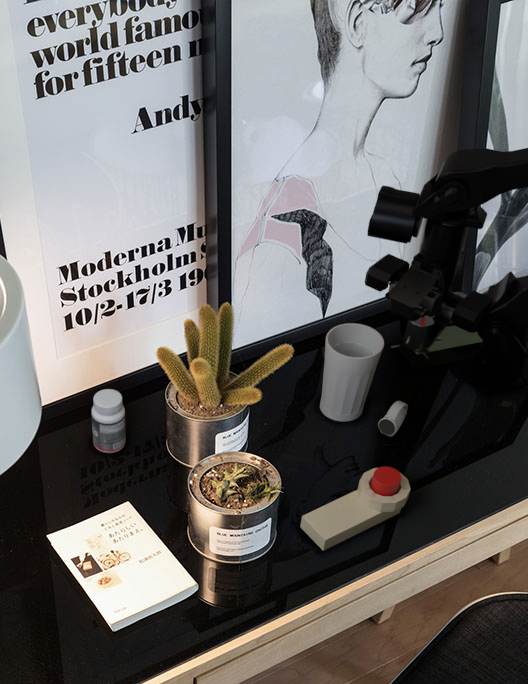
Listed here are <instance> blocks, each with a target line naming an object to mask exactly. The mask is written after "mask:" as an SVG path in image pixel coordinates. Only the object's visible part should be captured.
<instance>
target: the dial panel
mask: <svg viewBox="0 0 528 684" xmlns="http://www.w3.org/2000/svg"><path fill="white" fill-rule="evenodd" d="M403 339H404V336H402V338H401V343H400V344H396V345H391V346H390V348H391V349H396V348H397V349H398V348H399V349H398V350H399V351H398V352H399V353H400V354H401V355H402V356H403V358H404V359H405V361H406V362H407V363H408V365H409V366H410V368H411V370H412V371H414V370H415V371H416V370H420V369H425V368H431V367H435V366H440V365H446V364H450V363H456V362H462V361H468V360H474V357H475V354H476V352H477V351H479V349H480V346H481V343H482V341H483V340H482V339H481V338H480V337H479V335H478V333H477V332H473V333H470V332H468V331H465V330H463V329H461V328H459V327H457V326H454V325H453V326H447V327H446V328H445V329H444V331H443V332H442V333H441V334H440V336H439V337H438V338H437V339H436V341H435V342H434V343H433V345H432V346H431V347H429V348H427V349H425V350H422V351H415V350H411V349H409V348H407V347H406V346H405V345H404V343H403Z"/></svg>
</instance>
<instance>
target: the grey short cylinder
mask: <svg viewBox="0 0 528 684" xmlns="http://www.w3.org/2000/svg"><path fill="white" fill-rule="evenodd" d="M408 408H409V404H407V403H405V402H403V401H401V400H396V401H394V403H392V405H390V407H389V409H388V411H387V412H386V414H385V415H384V416H383V418H381V419H379V420H378V423H377V426H378V429H379V431H380V433H381V434H383V435H385V436H386V437H387V436H388V437H390V438H392V437H394V436H395V435H396V434H397V432H398V431H399V429H400V427H401V426H402V424H403V422H404V420H405V418H406V415H407V413H408Z"/></svg>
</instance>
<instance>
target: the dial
mask: <svg viewBox="0 0 528 684" xmlns="http://www.w3.org/2000/svg"><path fill="white" fill-rule="evenodd" d="M435 315H436V314H435ZM435 315H434V316H435ZM434 316H433V317H434ZM433 317H429V316H424V317H420V318H419V319H418V320H416V321H410V320H408V323H407V327H406V331H405V335H404V339H403V343H404V345H405V346H406V347H407V348H409V349H411V350H415V351H422V350H425V349H427V348H428V347H427V341H428V338H429V335H430V332H431V330H432V327H433V324H434V321H433Z"/></svg>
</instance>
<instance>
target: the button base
mask: <svg viewBox="0 0 528 684" xmlns="http://www.w3.org/2000/svg"><path fill="white" fill-rule="evenodd" d="M378 468H379V467H374V468H371V469H369V470H367V471H365V472H363V474H362V476H361V477H360V479H359V482H358V486H357V489H356V490H354V491H351V492H349V493H347V494H345V495H343V496H340V497H339V498H337V499H335V500H333V501H330V502H328V503H326V504H325V505H322V506H320V507H318V508H315V509H314V510H312V511H310V512H308V513H305V514H303V515H302V516H301V519H300V521H301V522H300V526H299V527H300V528H301V530H302V531H303V532H304V533H305V534H306V535H308V537H309V538H310V539H311V540H312V541H313V542H314V543H315V544H316V545H317V546H318V547H319V548H320V549H321V550H322V551H323V552H324V551H327V550H328V549H330V548H333V547H334V546H336V545H338V544H340V543H342V542H344V541H346V540H348V539H350V538H352V537H354V536H356V535H358V534H360V533H362V532H365V531H366V530H368V529H370V528H372V527H374V526H376V525H378V524H380V523H382V522H384V521H386V520H388V519H391V518H393V517H395V516H396V515H399V514H400V513H401V511H402V508H404V507H405V505H406V503H407V501H408V499H409V496H410V492H411V485H410V482H409V479H408V478H407V477H406V476H405V475H404V474H402V473H401V472H400V471H398V472H399V473H400V474H401V482H400V485H399V489H398V491H397V493H396V494H394V495H392V496H381V495H378V494H376V493H375V492H374V491H373V490H372V488H371V482H372V478H373V474H374V471H375V470H376V469H378Z"/></svg>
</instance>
